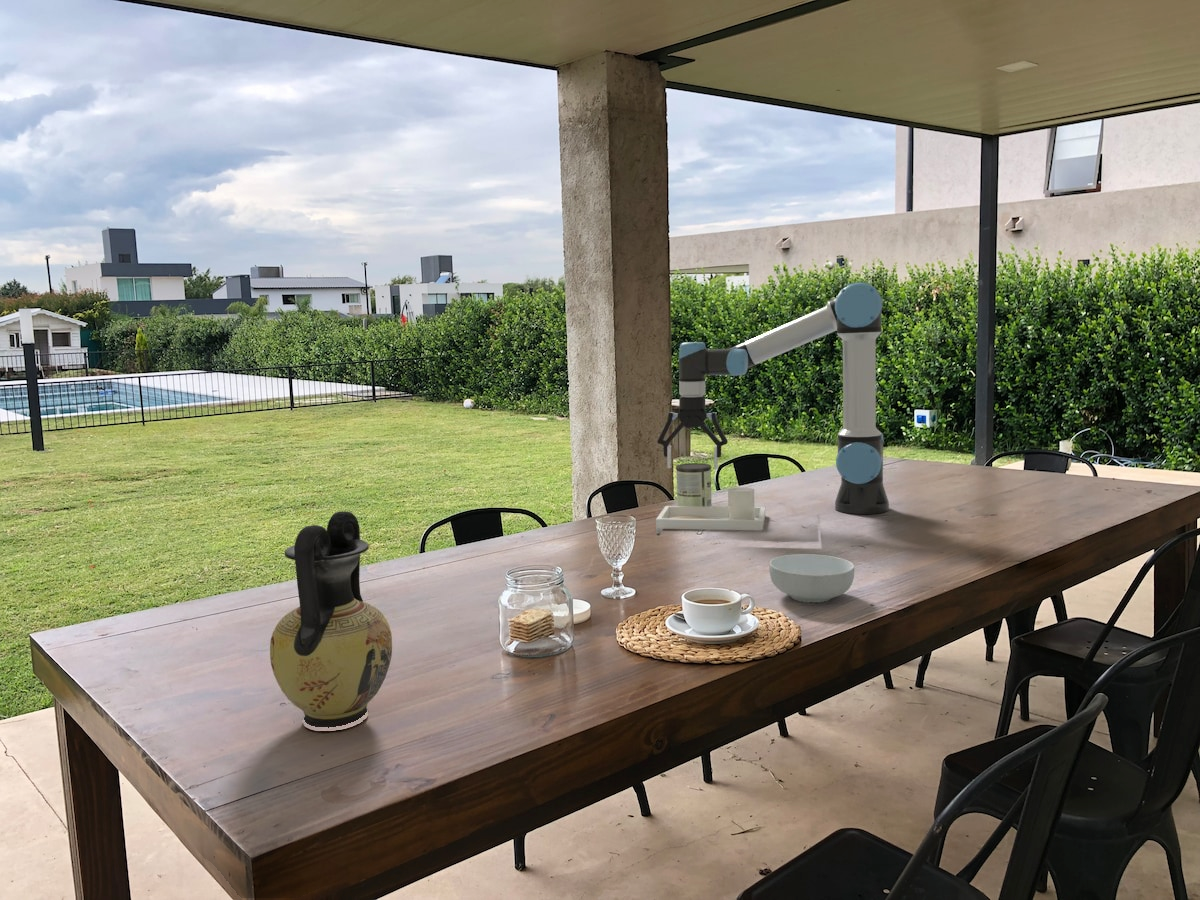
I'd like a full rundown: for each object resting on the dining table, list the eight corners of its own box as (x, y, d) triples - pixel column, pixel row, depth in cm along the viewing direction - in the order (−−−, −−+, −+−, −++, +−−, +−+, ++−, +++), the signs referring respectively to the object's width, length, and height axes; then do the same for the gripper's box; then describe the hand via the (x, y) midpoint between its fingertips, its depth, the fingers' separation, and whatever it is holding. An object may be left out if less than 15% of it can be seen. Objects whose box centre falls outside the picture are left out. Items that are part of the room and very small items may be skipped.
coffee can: (677, 509, 278) (676, 463, 276) (711, 509, 277) (710, 462, 275) (676, 516, 268) (675, 468, 266) (712, 516, 267) (711, 468, 265)
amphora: (377, 746, 126) (363, 530, 122) (255, 747, 127) (237, 533, 123) (409, 694, 143) (397, 504, 139) (302, 696, 144) (287, 507, 140)
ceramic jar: (755, 519, 253) (755, 487, 252) (753, 525, 247) (753, 492, 245) (729, 519, 255) (729, 487, 254) (727, 525, 248) (727, 492, 247)
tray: (765, 521, 258) (765, 507, 258) (762, 535, 241) (762, 520, 240) (665, 519, 264) (665, 505, 264) (656, 533, 247) (655, 519, 246)
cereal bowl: (838, 614, 176) (839, 578, 175) (756, 603, 184) (756, 568, 183) (864, 591, 190) (865, 557, 189) (787, 581, 199) (787, 549, 198)
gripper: (736, 394, 269) (736, 466, 272) (651, 394, 274) (652, 465, 277) (734, 396, 262) (734, 471, 265) (647, 396, 267) (648, 469, 270)
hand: (692, 468), depth 271 cm, fingers open, 13 cm apart
